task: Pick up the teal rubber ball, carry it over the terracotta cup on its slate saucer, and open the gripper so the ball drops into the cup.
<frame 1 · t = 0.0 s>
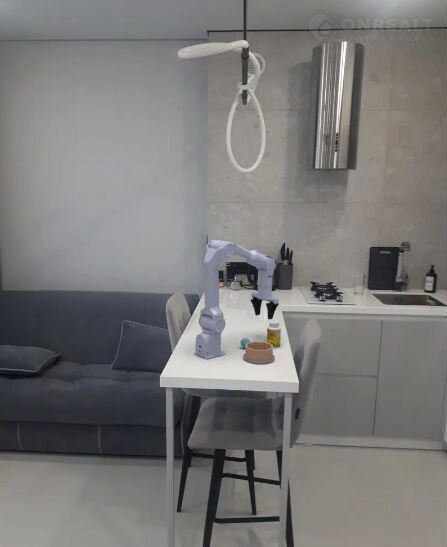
hand: (263, 317, 194), 10 cm above the countertop, tool pointing down, fingers open, 7 cm apart
supplement bottle: (273, 346, 188), on the countertop
cup: (258, 358, 174), on the countertop
ball: (245, 343, 185), point 2 cm above the countertop
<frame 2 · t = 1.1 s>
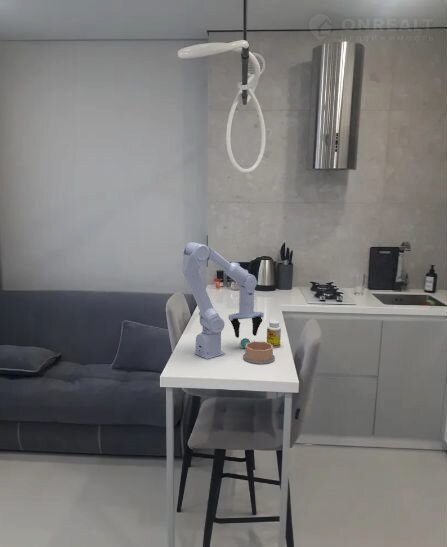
hand: (245, 336, 184), 5 cm above the countertop, tool pointing down, fingers open, 7 cm apart
nothing on the countertop moved.
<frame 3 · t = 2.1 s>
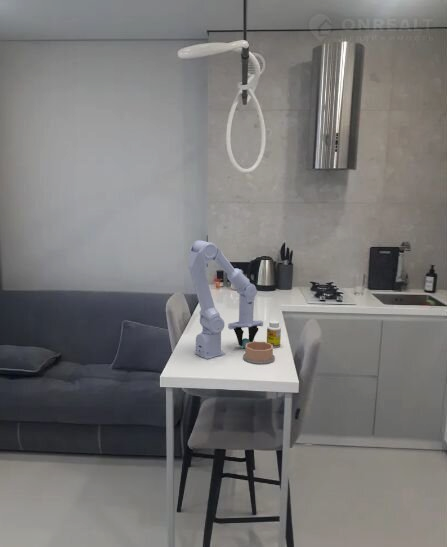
hand: (245, 344, 185), 1 cm above the countertop, tool pointing down, fingers closed on ball, 4 cm apart
ball: (245, 343, 185), point 2 cm above the countertop, touching gripper
everything else where it was.
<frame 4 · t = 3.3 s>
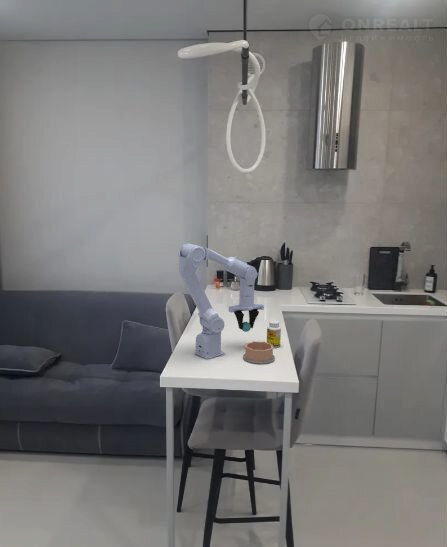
hand: (245, 328, 184), 8 cm above the countertop, tool pointing down, fingers closed on ball, 4 cm apart
ball: (245, 326, 184), point 9 cm above the countertop, touching gripper
everything else where it was.
when the fingers open (6 cm above the countertop, at t = 4.9 s): ball drops 4 cm, resting on cup.
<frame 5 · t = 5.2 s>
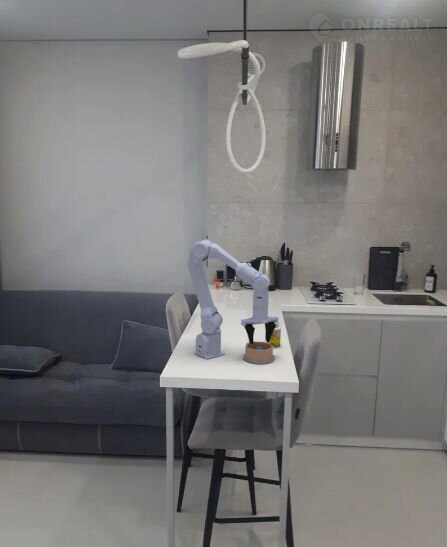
hand: (259, 342, 172), 6 cm above the countertop, tool pointing down, fingers open, 6 cm apart
ball: (259, 351, 173), point 3 cm above the countertop, touching cup
everything else where it was.
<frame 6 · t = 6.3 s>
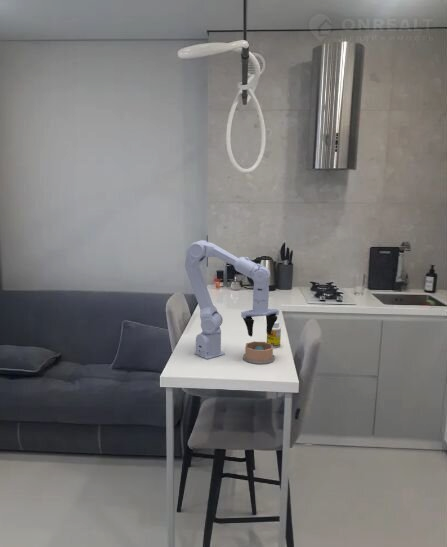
hand: (259, 334, 172), 9 cm above the countertop, tool pointing down, fingers open, 7 cm apart
nothing on the countertop moved.
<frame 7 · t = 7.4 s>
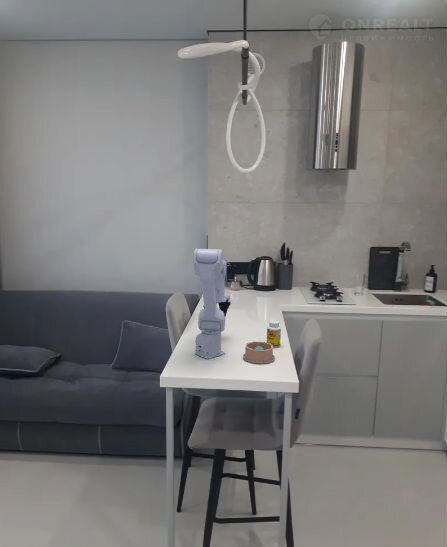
hand: (217, 320, 190), 9 cm above the countertop, tool pointing down, fingers open, 7 cm apart
nothing on the countertop moved.
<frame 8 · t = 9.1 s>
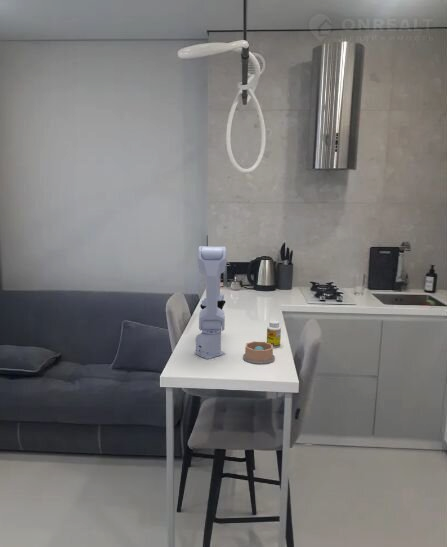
hand: (212, 319, 192), 9 cm above the countertop, tool pointing down, fingers open, 7 cm apart
nothing on the countertop moved.
at the end: ball 0.1 cm off-centre on the cup, point 2.8 cm above the cup's base; the gripper is holding nothing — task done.
